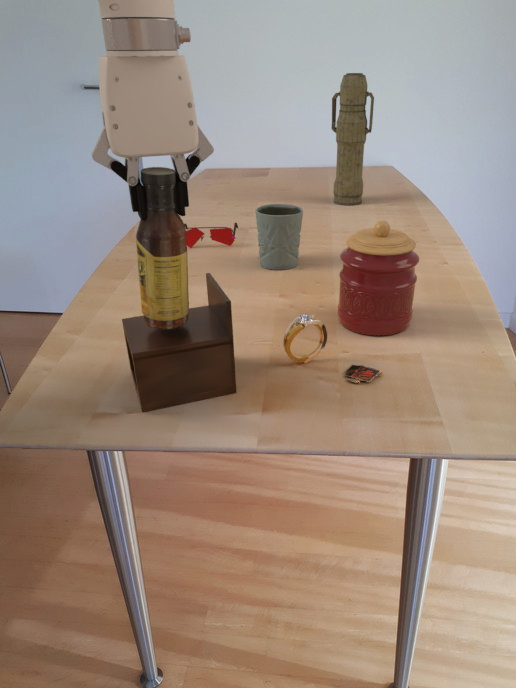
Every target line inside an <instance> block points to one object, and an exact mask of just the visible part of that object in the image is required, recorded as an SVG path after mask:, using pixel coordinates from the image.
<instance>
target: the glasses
mask: <svg viewBox="0 0 516 688" xmlns="http://www.w3.org/2000/svg"><path fill="white" fill-rule="evenodd" d="M184 225H185V230H186V246H187V248H191V249H192V248H193V247H194V246H195V245H196V244H197V242H198V241H203V239H204V237H205V232H204V231H202V230H200V229H209V234H210V235H209V238H210V239H211V241H214V242H216V243H220V244H223V245H227V246H230V247H231V246H232V245H233V243H234V242H235V239H236V231H237V229H238V228H239V225H238V222H234V224H233V229H232V227H227V226H202V227H196V226H194V227H189V226H188V224H187V223H184Z"/></svg>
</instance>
